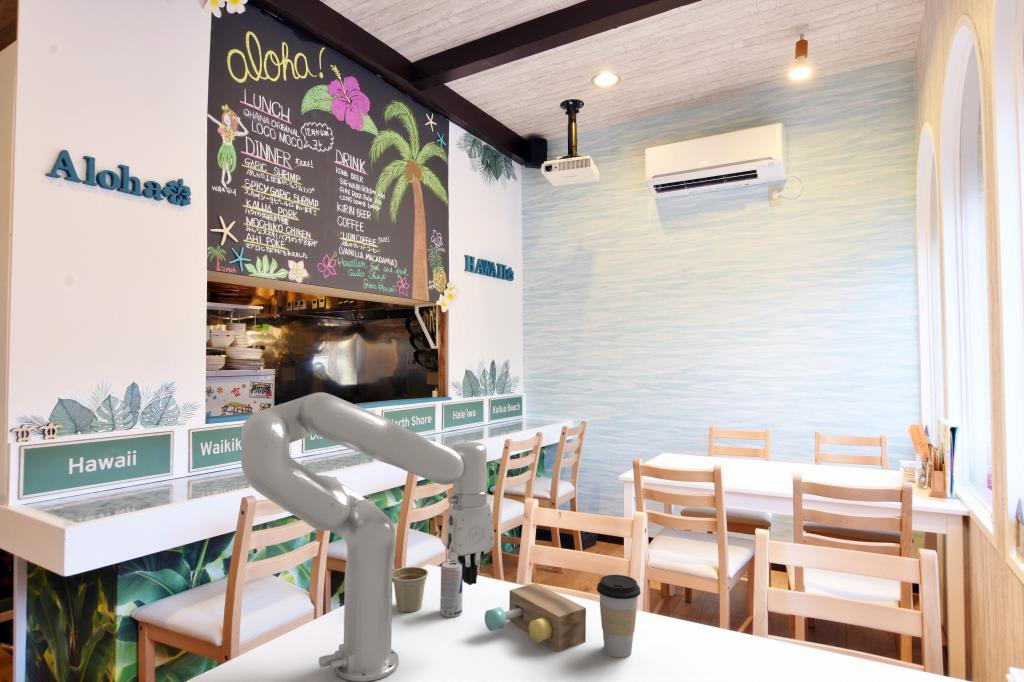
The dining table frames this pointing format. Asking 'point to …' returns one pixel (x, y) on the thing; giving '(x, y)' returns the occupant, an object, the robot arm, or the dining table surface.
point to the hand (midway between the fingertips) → (469, 582)
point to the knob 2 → (540, 629)
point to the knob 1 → (500, 617)
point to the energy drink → (451, 589)
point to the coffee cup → (618, 613)
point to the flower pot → (409, 587)
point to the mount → (550, 615)
